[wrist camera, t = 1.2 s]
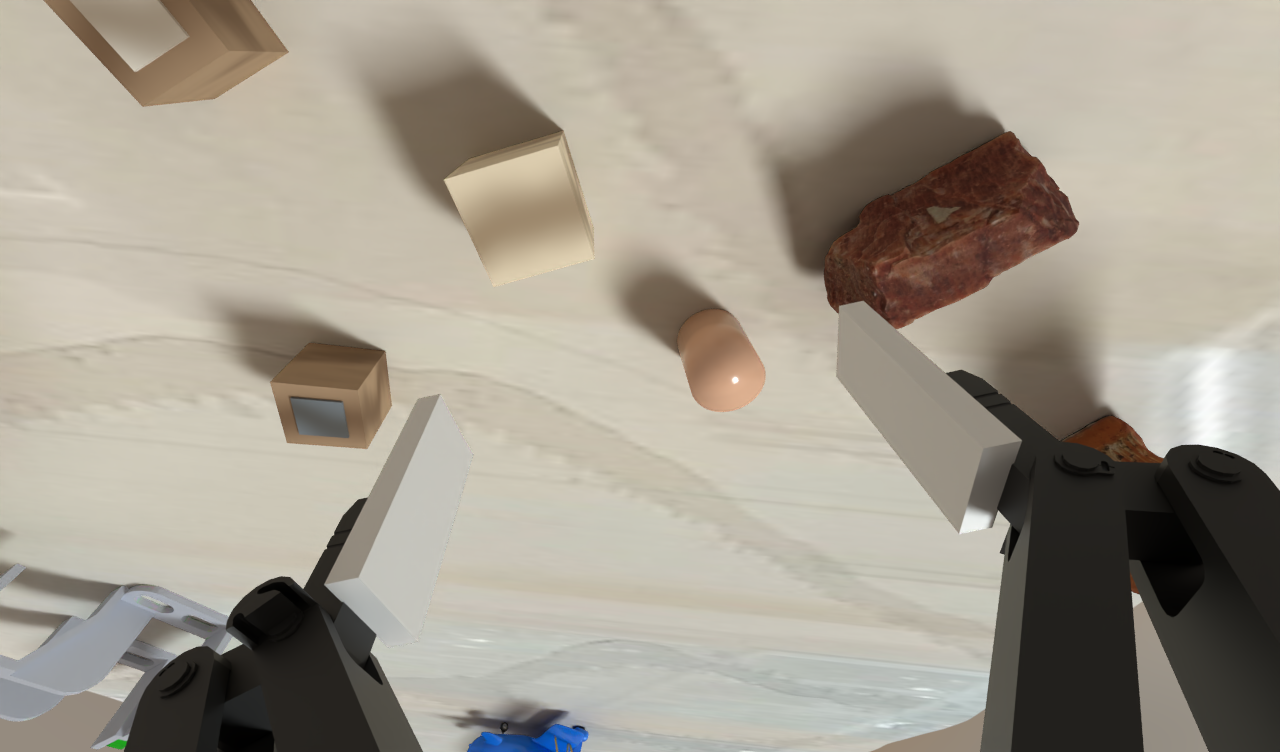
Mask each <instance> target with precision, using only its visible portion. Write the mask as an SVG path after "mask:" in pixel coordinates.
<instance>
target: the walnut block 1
mask: <svg viewBox="0 0 1280 752" xmlns="http://www.w3.org/2000/svg"><path fill="white" fill-rule="evenodd" d="M44 1H45V2H46V3H47V5H48V6H49V7H50V8H51V9H52V10H53V11H54V12H55V13H56V14H57V15H58V16H59V17H60V18H61V20H62V21H63V22H64V23H65V24H66V25H67V26H68V27H69V28H70V29H71V30H72V31H73V32H74V34H75V35H76V36H77V37H78V38H79V39H80V40H81V41H82V42H83V43H84V44H85V45H86V46H87V47H88V49H89V50H90V51H91V52H92V53H93V54H94V55H95V56H96V57H97V58H98V59H99V60H100V61H101V62H102V64H103V65H104V66H105V67H106V68H107V69H108V70H109V71H110V72H111V73H112V74H113V75H114V76H115V77H116V79H117V80H118V81H119V82H120V83H121V84H122V85H123V86H124V87H125V88H126V89H127V90H128V91H129V93H130V94H131V95H132V96H133V97H134V98H135V99H136V100H137V101H138V102H139V103H140V104H141V105H142V106H143V107H144V106H153V105H162V104H172V103H181V102H190V101H199V100H208V99H215V98H217V97H218V96H220V95H222V94H223V93H225V92H226V91H228V90H229V89H231V88H233V87H234V86H236V85H237V84H239V83H241V82H242V81H244V80H245V79H247V78H249V77H250V76H252V75H253V74H255V73H256V72H258V71H260V70H261V69H263V68H264V67H266V66H268V65H269V64H271V63H272V62H274V61H276V60H277V59H279V58H280V57H282V56H283V55H285V54H287V53H288V50H287V49H286V48H285V46H284V45H283V44H282V42H281V41H280V39H279V38H278V37H277V35H276V34H275V33H274V31H273V30H272V29H271V27H270V26H269V24H268V23H267V22H266V20H265V19H264V18H263V16H262V15H261V13H260V12H259V11H258V9H257V8H256V7H255V5H254V4H253V2H252V1H251V0H44Z"/></svg>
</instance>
